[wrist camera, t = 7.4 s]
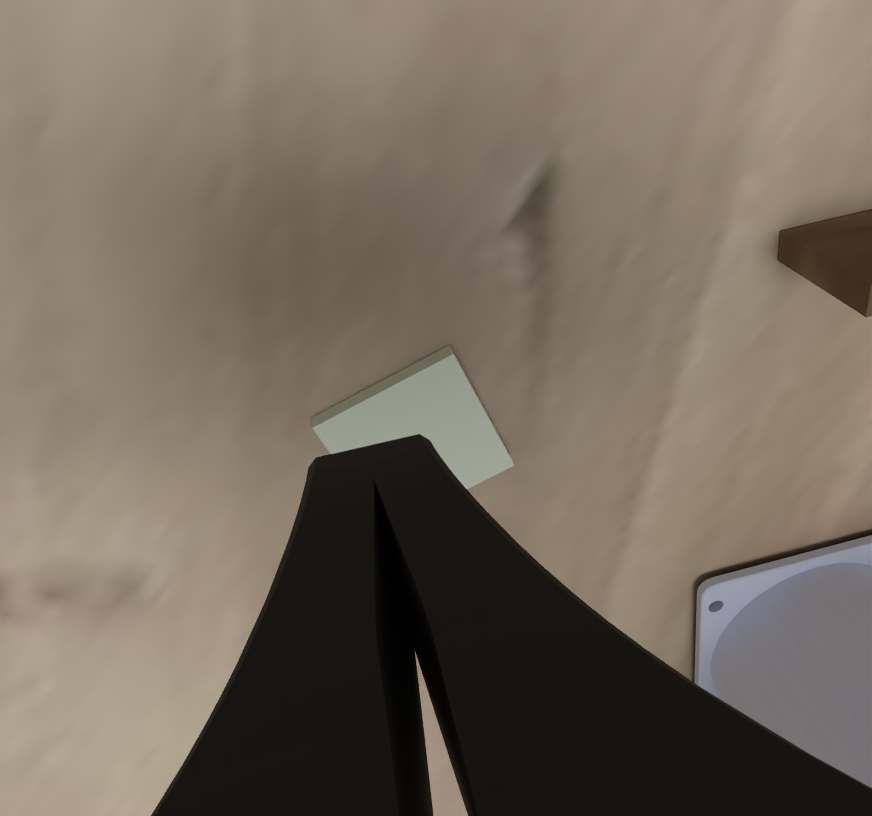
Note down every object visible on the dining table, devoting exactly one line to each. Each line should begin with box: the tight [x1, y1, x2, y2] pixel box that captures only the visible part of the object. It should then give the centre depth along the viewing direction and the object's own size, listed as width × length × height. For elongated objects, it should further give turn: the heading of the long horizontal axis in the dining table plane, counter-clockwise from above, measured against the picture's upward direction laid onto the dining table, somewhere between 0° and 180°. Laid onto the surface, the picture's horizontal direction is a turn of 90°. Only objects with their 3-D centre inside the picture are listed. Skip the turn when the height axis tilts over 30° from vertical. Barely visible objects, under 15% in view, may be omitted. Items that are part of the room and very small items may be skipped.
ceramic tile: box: [311, 345, 515, 489], centre depth 21 cm, size 4×4×1 cm
